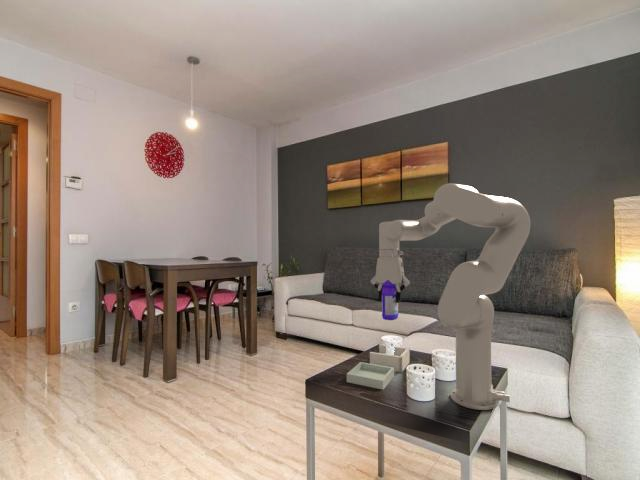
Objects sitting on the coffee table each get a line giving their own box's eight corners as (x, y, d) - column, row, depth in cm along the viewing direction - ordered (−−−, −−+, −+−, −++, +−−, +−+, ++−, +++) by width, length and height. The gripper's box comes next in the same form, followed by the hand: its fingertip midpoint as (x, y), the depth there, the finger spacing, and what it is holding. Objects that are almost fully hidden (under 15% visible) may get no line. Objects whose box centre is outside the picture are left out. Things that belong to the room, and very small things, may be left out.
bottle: (394, 321, 124) (393, 274, 124) (379, 320, 126) (379, 273, 127) (400, 317, 130) (399, 272, 130) (386, 316, 133) (385, 272, 133)
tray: (394, 375, 118) (394, 367, 118) (383, 389, 106) (383, 380, 106) (360, 369, 124) (360, 361, 124) (346, 382, 112) (346, 373, 112)
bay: (409, 362, 131) (409, 348, 131) (401, 373, 120) (401, 357, 120) (380, 357, 136) (379, 344, 136) (369, 367, 126) (369, 352, 126)
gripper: (414, 254, 128) (415, 301, 127) (371, 253, 136) (371, 298, 136) (409, 254, 121) (410, 305, 121) (364, 254, 129) (365, 301, 129)
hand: (389, 301), depth 128 cm, fingers closed on bottle, 5 cm apart
